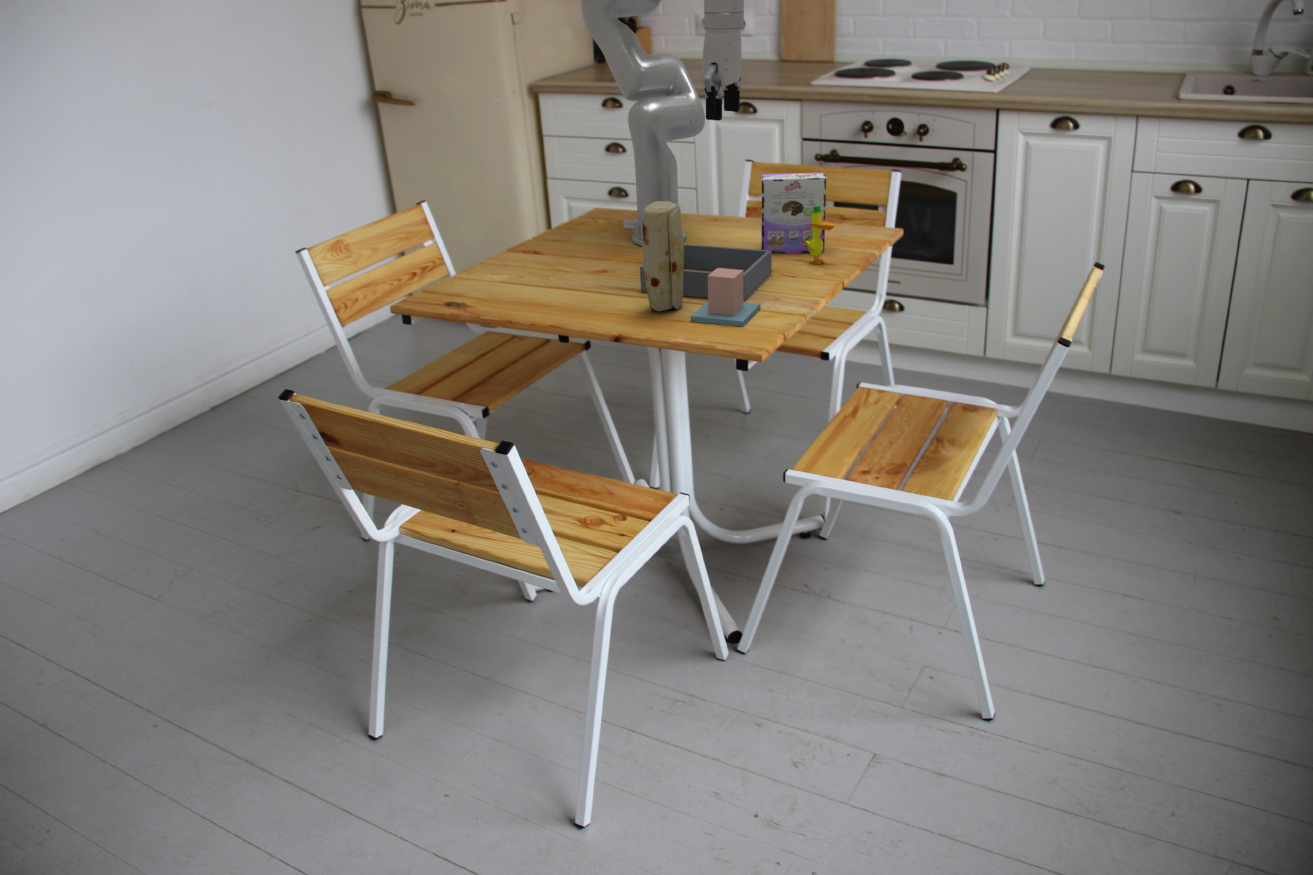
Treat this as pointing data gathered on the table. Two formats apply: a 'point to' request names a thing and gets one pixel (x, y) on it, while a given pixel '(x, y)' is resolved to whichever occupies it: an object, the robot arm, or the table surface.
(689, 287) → the crate
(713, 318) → the pad
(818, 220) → the toy figure
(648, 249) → the food model
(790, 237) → the candy box
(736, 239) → the table surface
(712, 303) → the block
